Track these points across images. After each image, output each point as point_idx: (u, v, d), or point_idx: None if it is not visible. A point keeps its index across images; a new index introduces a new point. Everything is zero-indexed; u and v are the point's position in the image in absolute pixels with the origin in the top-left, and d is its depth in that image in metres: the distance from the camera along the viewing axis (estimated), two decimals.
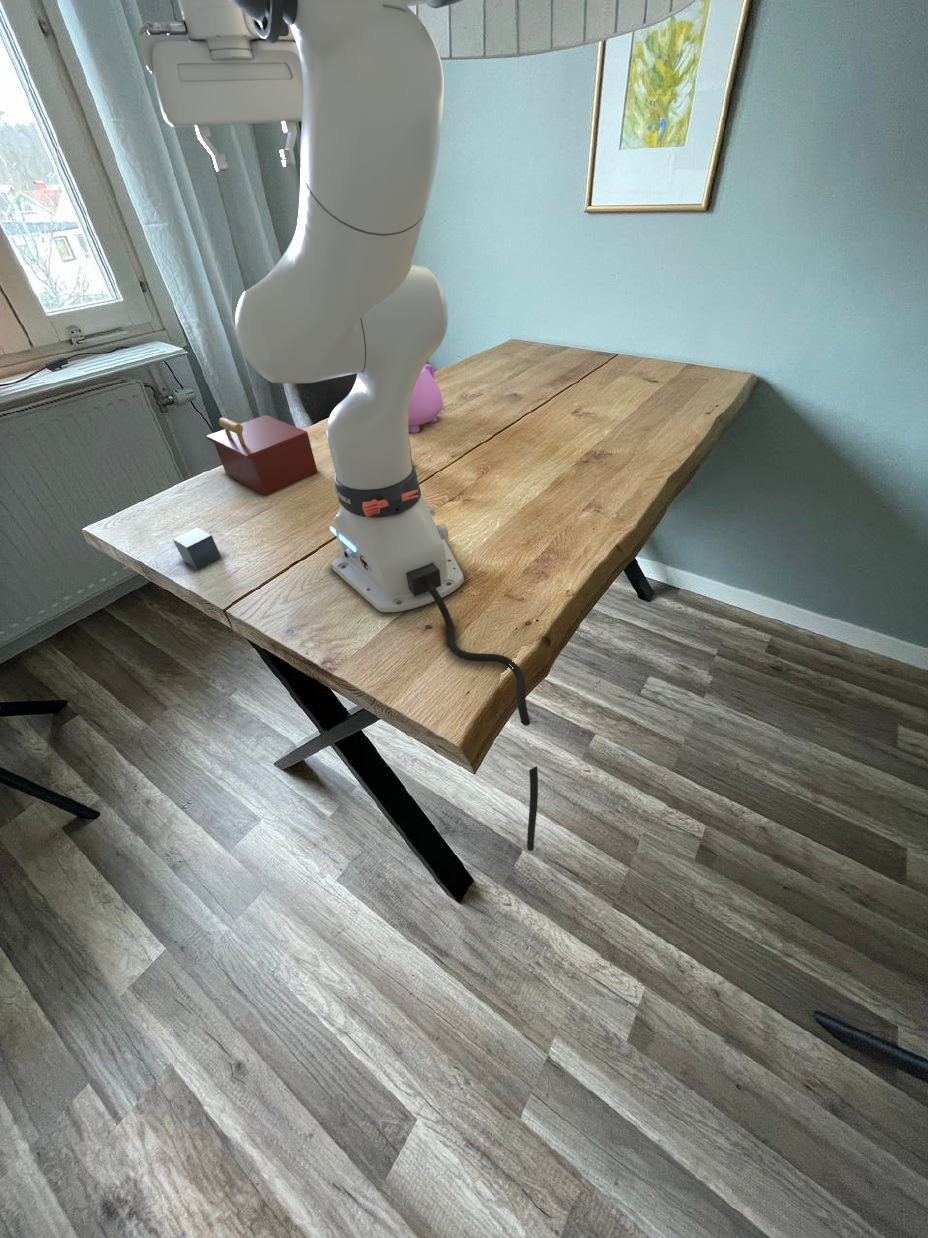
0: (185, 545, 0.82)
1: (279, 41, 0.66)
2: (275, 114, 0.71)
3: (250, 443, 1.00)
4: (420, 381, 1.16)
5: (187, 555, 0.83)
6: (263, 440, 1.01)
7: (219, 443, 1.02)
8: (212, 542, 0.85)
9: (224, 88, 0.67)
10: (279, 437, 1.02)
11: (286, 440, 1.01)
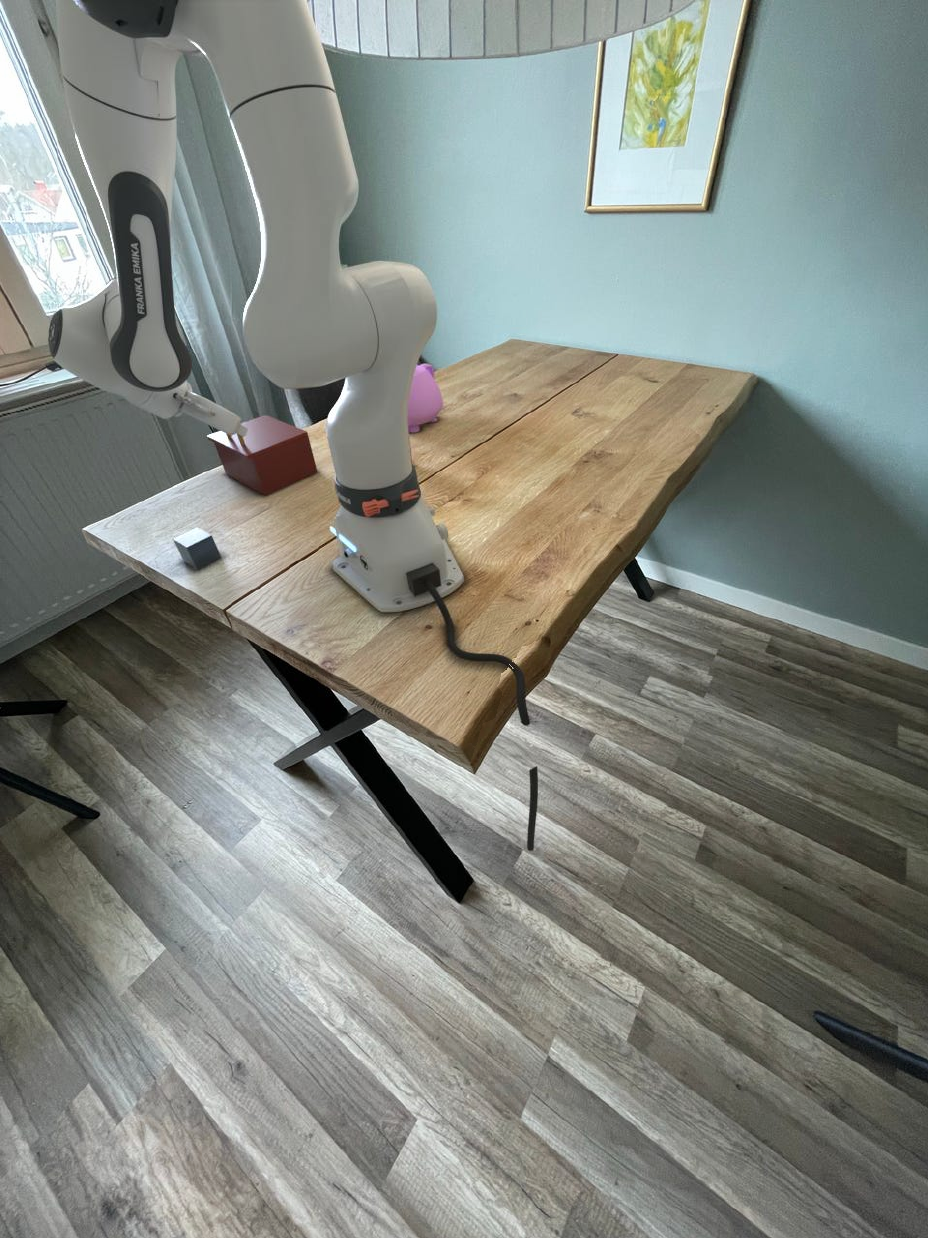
0: (185, 545, 0.82)
1: None
2: None
3: (250, 443, 1.00)
4: (420, 381, 1.16)
5: (187, 555, 0.83)
6: (263, 440, 1.01)
7: (219, 443, 1.02)
8: (212, 542, 0.85)
9: None
10: (279, 437, 1.02)
11: (286, 440, 1.01)
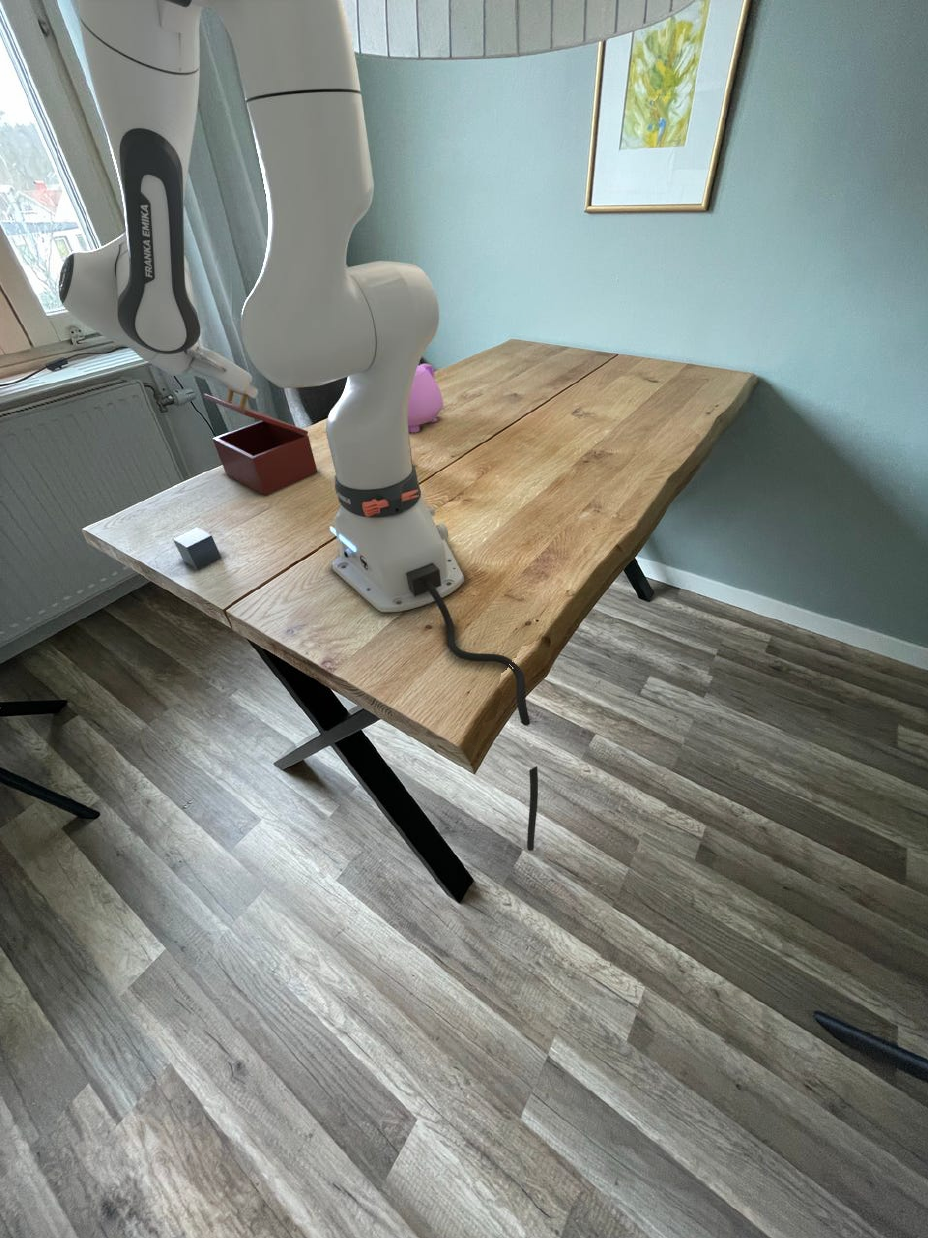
0: (185, 545, 0.82)
1: None
2: None
3: (250, 411, 0.98)
4: (420, 381, 1.16)
5: (187, 555, 0.83)
6: (263, 415, 0.99)
7: (216, 400, 0.98)
8: (212, 542, 0.85)
9: None
10: (280, 421, 1.00)
11: (286, 424, 0.99)
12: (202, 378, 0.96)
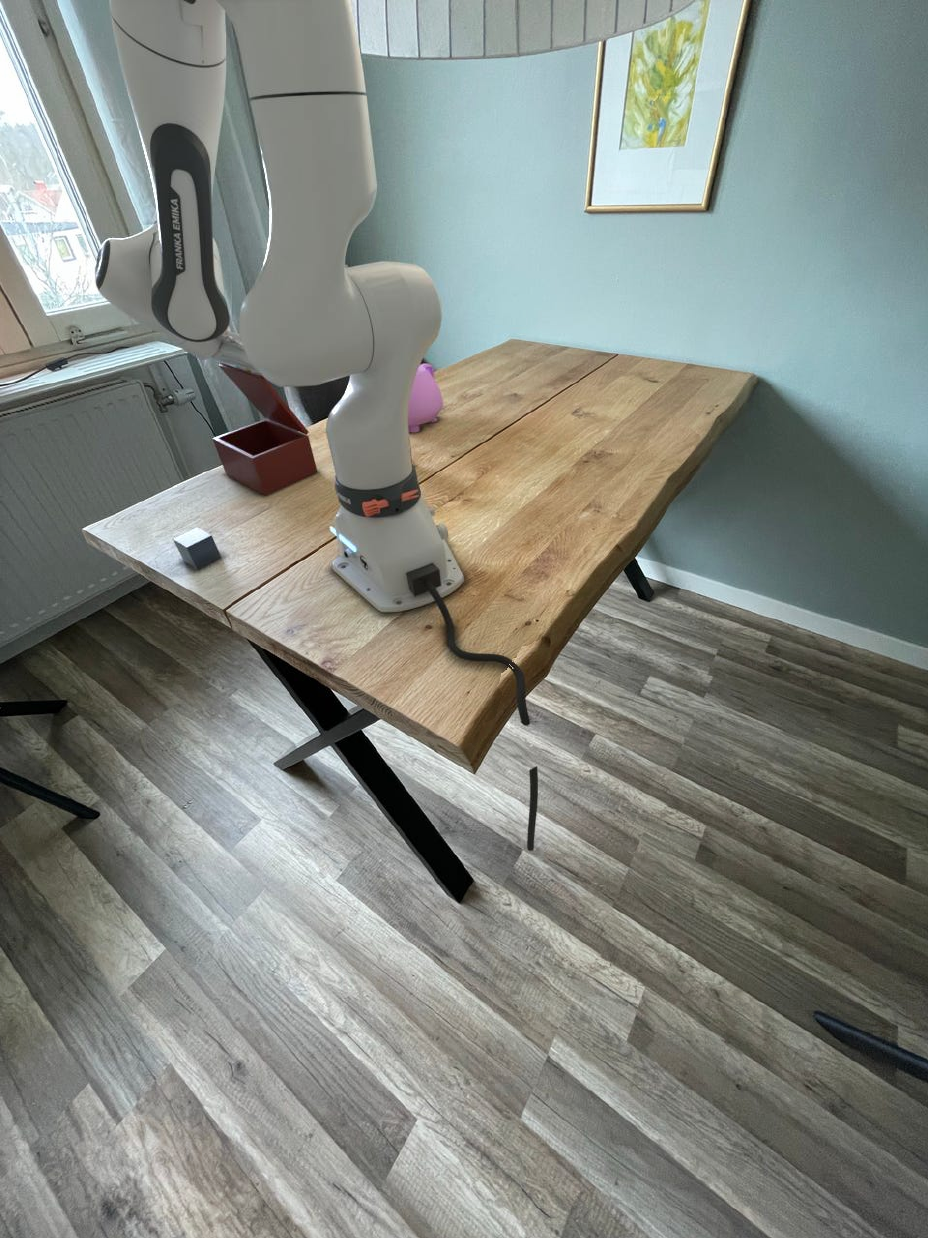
0: (185, 545, 0.82)
1: None
2: None
3: None
4: (420, 381, 1.16)
5: (187, 555, 0.83)
6: None
7: (232, 367, 0.98)
8: (212, 542, 0.85)
9: None
10: None
11: (293, 413, 0.99)
12: (229, 363, 0.98)
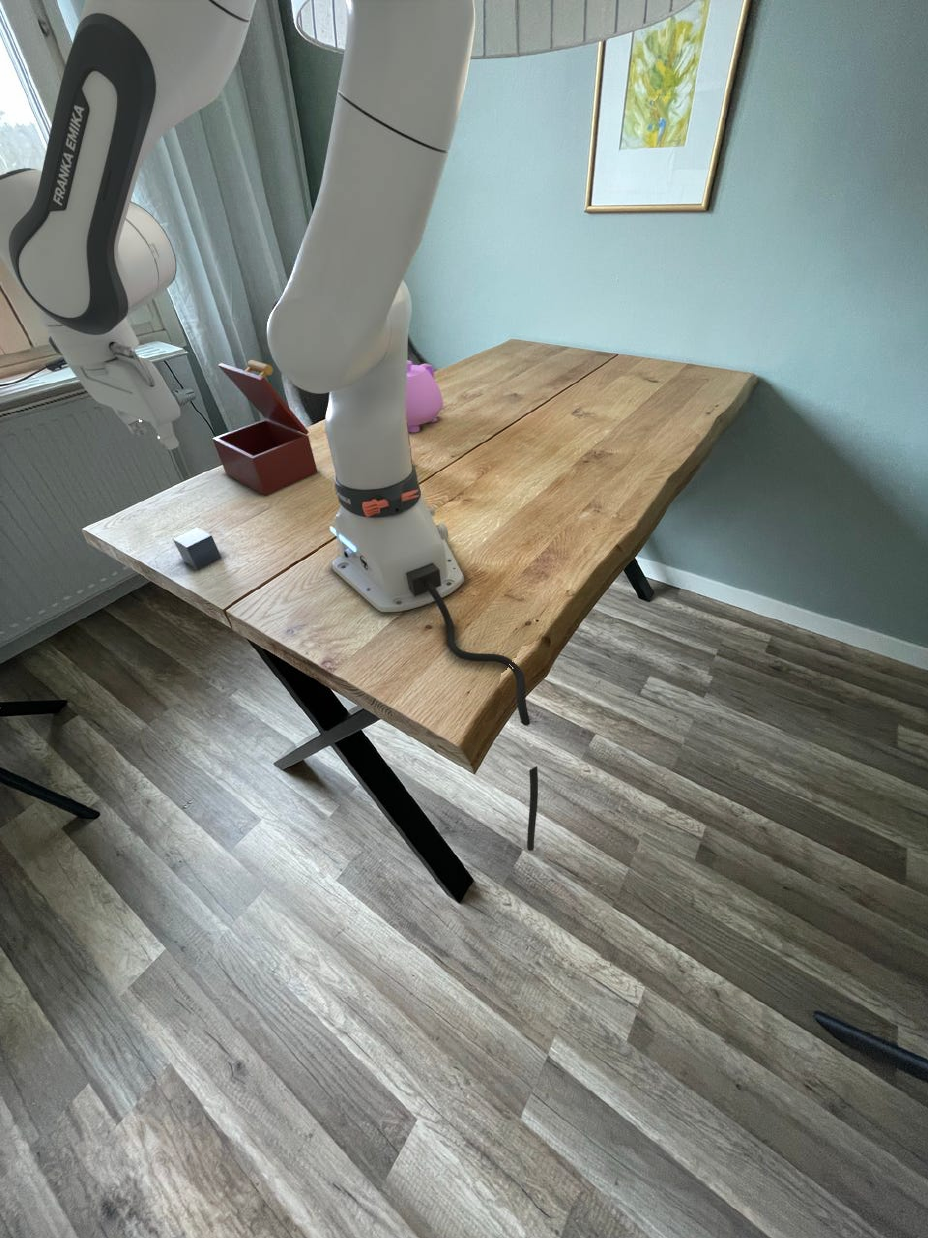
0: (185, 545, 0.82)
1: None
2: None
3: None
4: (420, 381, 1.16)
5: (187, 555, 0.83)
6: None
7: (232, 368, 0.98)
8: (212, 542, 0.85)
9: None
10: None
11: (293, 413, 0.99)
12: (108, 402, 0.73)
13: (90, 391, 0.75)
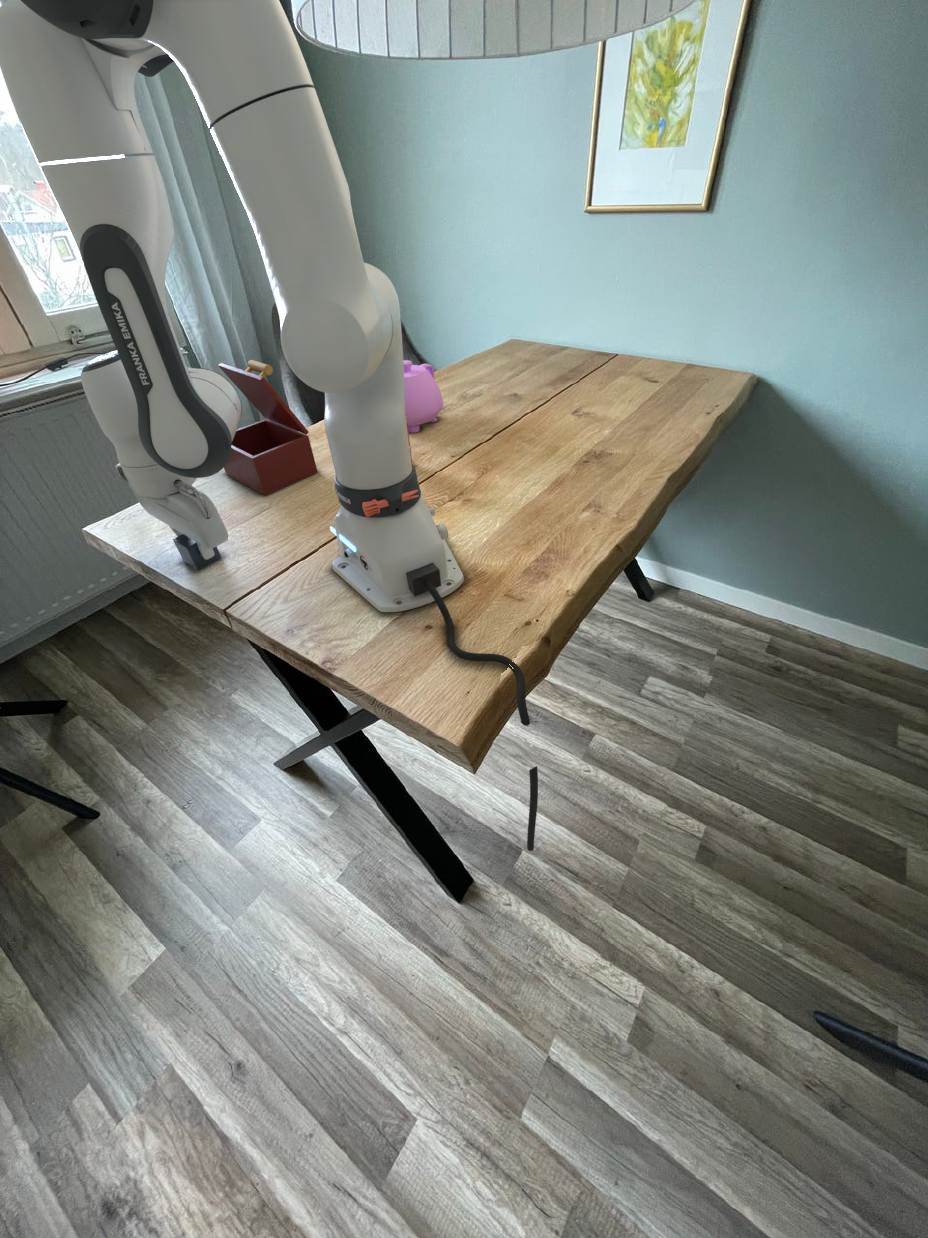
0: (184, 545, 0.82)
1: None
2: None
3: None
4: (420, 381, 1.16)
5: (187, 555, 0.83)
6: None
7: (232, 368, 0.98)
8: None
9: None
10: None
11: (293, 413, 0.99)
12: (160, 518, 0.83)
13: (144, 505, 0.85)
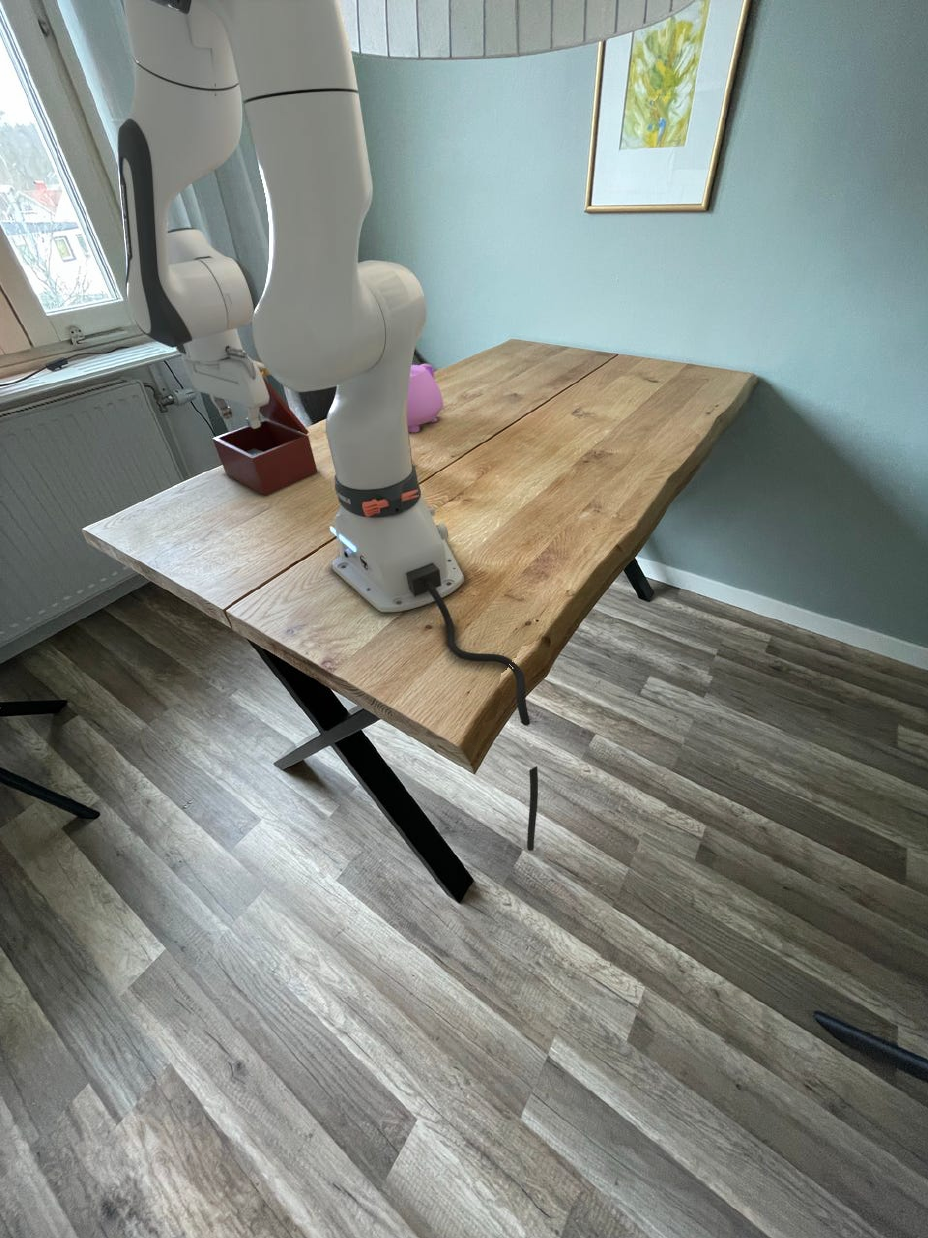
0: None
1: None
2: None
3: None
4: (420, 381, 1.16)
5: None
6: None
7: None
8: None
9: None
10: None
11: (293, 413, 0.99)
12: (209, 390, 0.98)
13: (195, 382, 0.99)
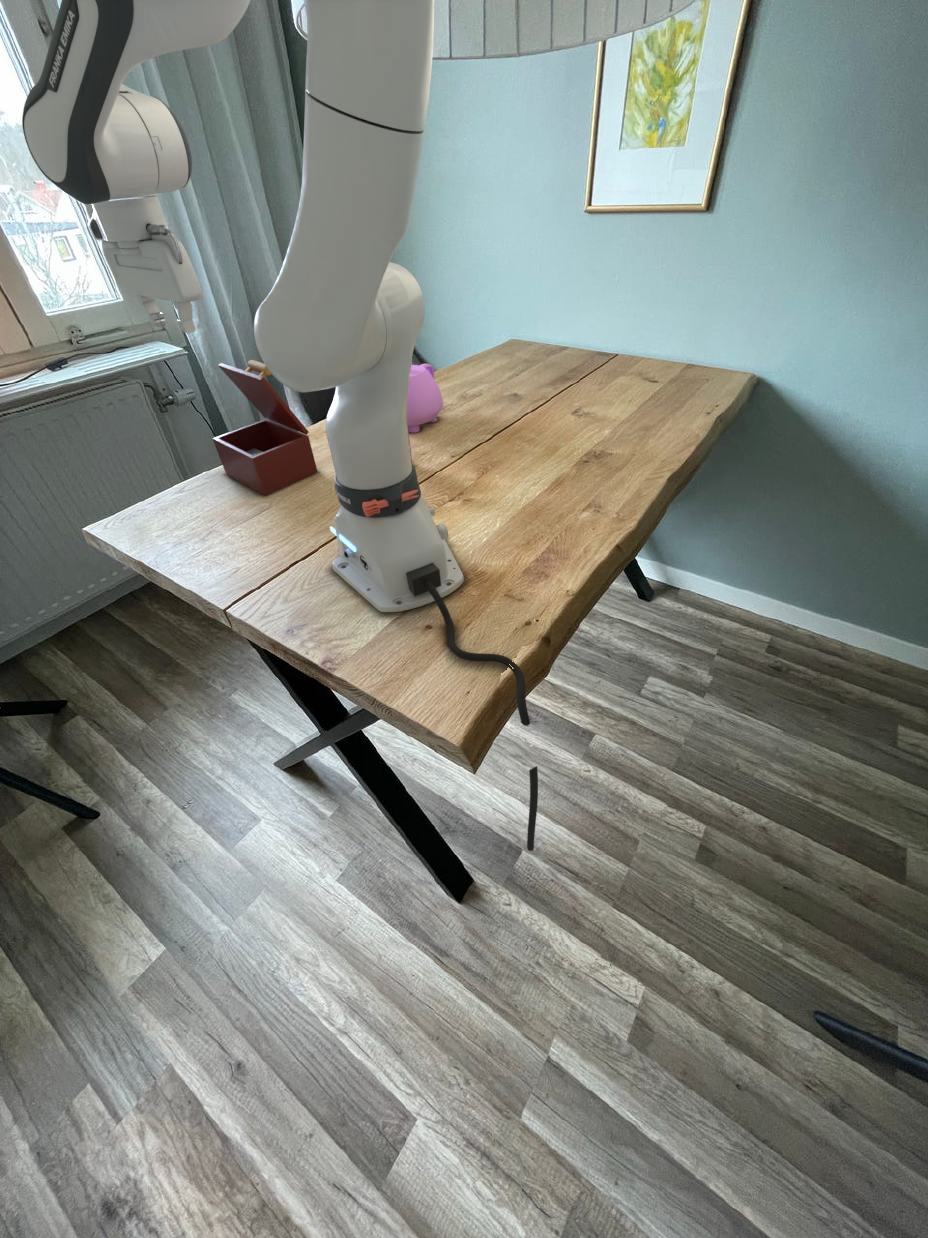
0: None
1: None
2: None
3: None
4: (420, 381, 1.16)
5: None
6: None
7: (232, 368, 0.98)
8: None
9: None
10: None
11: (293, 413, 0.99)
12: (135, 288, 0.83)
13: (119, 280, 0.84)
